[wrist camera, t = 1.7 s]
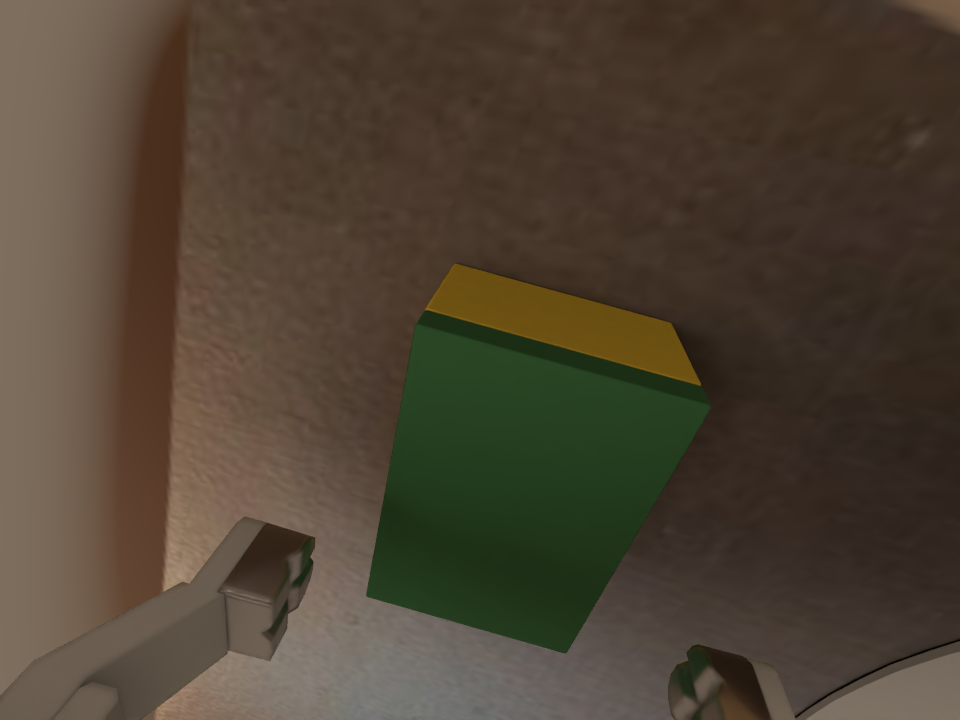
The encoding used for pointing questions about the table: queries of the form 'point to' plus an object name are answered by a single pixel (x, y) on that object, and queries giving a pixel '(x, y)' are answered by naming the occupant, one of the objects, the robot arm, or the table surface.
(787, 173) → the table surface
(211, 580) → the robot arm
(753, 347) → the table surface
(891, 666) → the plate
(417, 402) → the sponge
